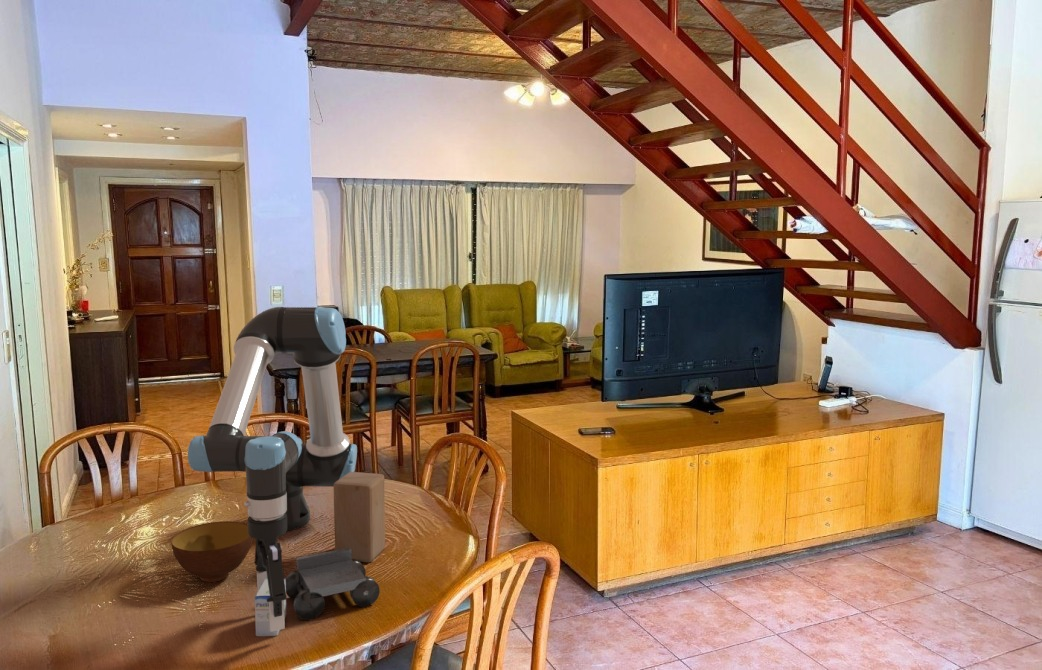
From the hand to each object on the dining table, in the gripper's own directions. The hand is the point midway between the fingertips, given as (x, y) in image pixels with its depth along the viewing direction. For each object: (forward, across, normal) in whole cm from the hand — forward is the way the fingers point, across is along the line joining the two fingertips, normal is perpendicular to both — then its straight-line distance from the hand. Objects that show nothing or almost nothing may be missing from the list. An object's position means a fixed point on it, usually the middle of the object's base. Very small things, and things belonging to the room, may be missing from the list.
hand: (270, 614), depth 153 cm
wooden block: (+3, -26, +27) cm, 37 cm away
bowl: (+3, -30, -7) cm, 31 cm away
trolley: (+3, -5, +14) cm, 15 cm away
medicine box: (+3, 0, 0) cm, 3 cm away
